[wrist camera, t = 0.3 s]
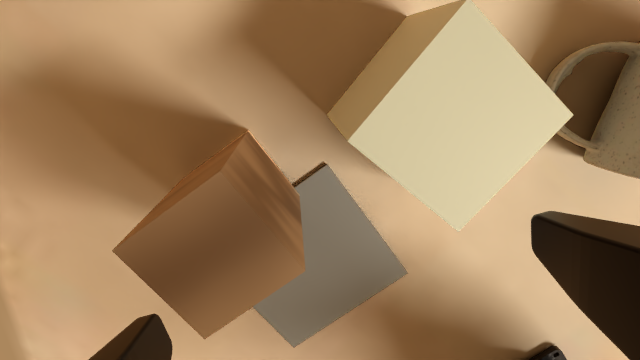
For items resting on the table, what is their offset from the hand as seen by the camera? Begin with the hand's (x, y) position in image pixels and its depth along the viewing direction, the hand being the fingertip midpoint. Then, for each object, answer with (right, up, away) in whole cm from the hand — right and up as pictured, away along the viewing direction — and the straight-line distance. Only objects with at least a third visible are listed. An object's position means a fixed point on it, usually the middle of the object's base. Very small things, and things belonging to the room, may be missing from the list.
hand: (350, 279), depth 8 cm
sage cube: (+5, +7, +13) cm, 16 cm away
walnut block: (-5, +2, +14) cm, 15 cm away
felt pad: (-1, -3, +16) cm, 16 cm away
